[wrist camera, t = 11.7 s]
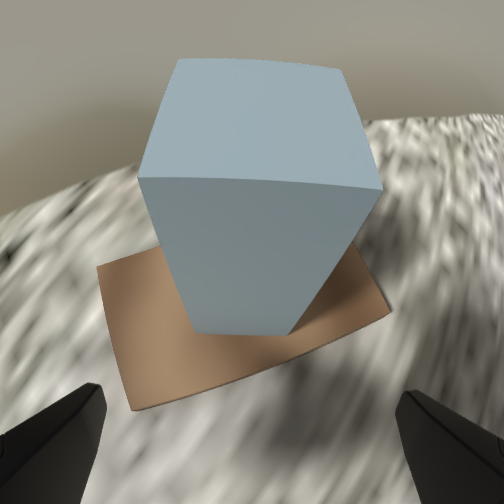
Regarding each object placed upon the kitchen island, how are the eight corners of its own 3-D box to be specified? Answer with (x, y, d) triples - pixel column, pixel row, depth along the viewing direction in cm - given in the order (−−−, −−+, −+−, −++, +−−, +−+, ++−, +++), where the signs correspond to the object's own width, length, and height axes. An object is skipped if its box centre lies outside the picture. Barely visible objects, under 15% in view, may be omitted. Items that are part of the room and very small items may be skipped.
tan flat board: (322, 207, 23) (326, 197, 22) (382, 317, 19) (390, 312, 18) (102, 274, 19) (96, 266, 18) (137, 411, 16) (131, 411, 15)
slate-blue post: (287, 335, 17) (383, 189, 6) (195, 333, 17) (137, 177, 6) (284, 254, 20) (340, 69, 9) (201, 251, 19) (179, 59, 8)
